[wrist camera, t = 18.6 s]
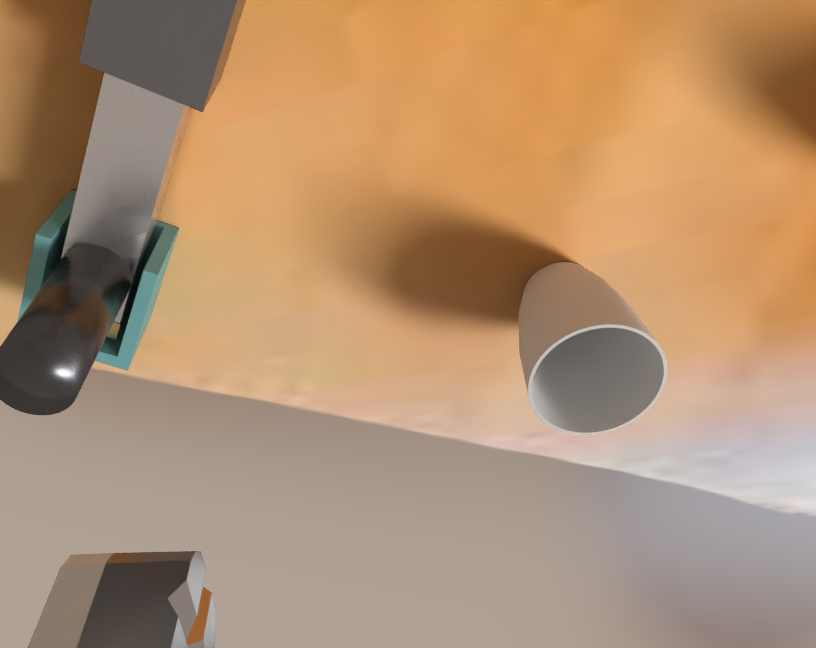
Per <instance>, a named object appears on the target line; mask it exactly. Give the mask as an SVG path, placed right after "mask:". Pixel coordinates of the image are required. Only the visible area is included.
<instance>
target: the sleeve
mask: <svg viewBox="0 0 816 648" xmlns="http://www.w3.org/2000/svg"><path fill="white" fill-rule="evenodd" d="M245 1H246V0H92V3H91V7H90V12H89V17H88V21H87V26H86V31H85V35H84V40H83V45H82V49H81V54H80V59H79V63H82V64H84V65H87V66H89V67H91V68H94V69H96V70H99V71H101V72H104V73H106V74H109V75H111V76H114V77H116V78H119V79H121V80H124V81H126V82H129V83H131V84H134V85H136V86H139V87H141V88H144V89H146V90H149V91H151V92H153V93H156V94H158V95H161V96H163V97H166V98H168V99H171V100H173V101H176V102H178V103H181V104H183V105H186V106H188V107H191V108H193V109H196V110H198V111H201V112H203V111H204V109H205V107H206V105H207V103H208V101H209V100H210V98H211V96H212V94H213V92H214V90H215V89H216V87H217V85H218V83H219V81H220V80H221V77H222V74H223V70H224V67H225V64H226V61H227V58H228V55H229V51H230V48H231V45H232V42H233V39H234V36H235V32H236V29H237V26H238V23H239V20H240V17H241V13H242V10H243V7H244V4H245Z"/></svg>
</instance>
